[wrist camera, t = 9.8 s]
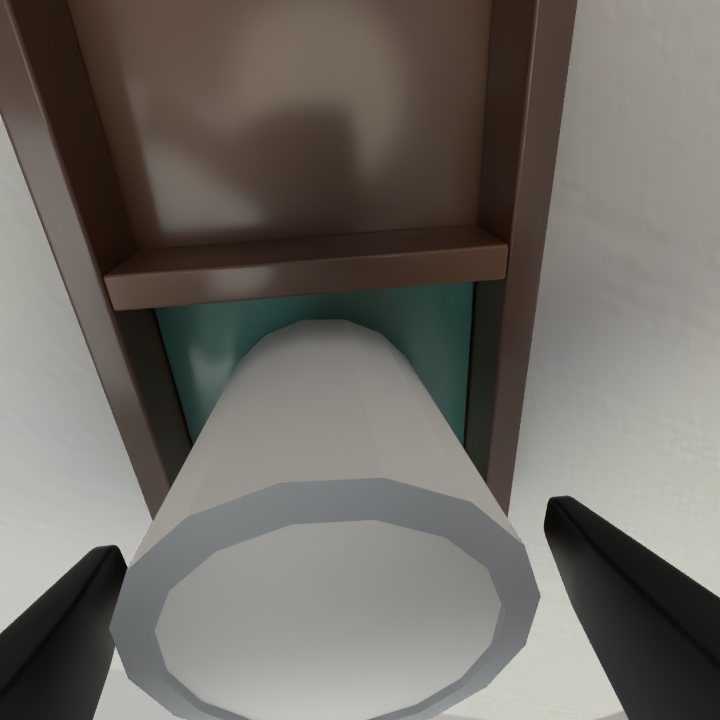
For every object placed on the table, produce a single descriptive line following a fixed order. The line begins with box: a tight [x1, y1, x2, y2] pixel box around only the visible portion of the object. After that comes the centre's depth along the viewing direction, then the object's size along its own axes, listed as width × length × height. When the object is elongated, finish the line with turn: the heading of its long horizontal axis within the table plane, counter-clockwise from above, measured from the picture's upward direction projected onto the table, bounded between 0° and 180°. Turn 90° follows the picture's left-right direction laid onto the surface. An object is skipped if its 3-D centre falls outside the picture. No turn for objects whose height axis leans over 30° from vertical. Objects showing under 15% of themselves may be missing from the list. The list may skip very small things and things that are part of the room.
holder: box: [0, 0, 577, 520], centre depth 11 cm, size 10×19×3 cm, turn 3°
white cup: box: [109, 319, 540, 720], centre depth 10 cm, size 7×7×7 cm
